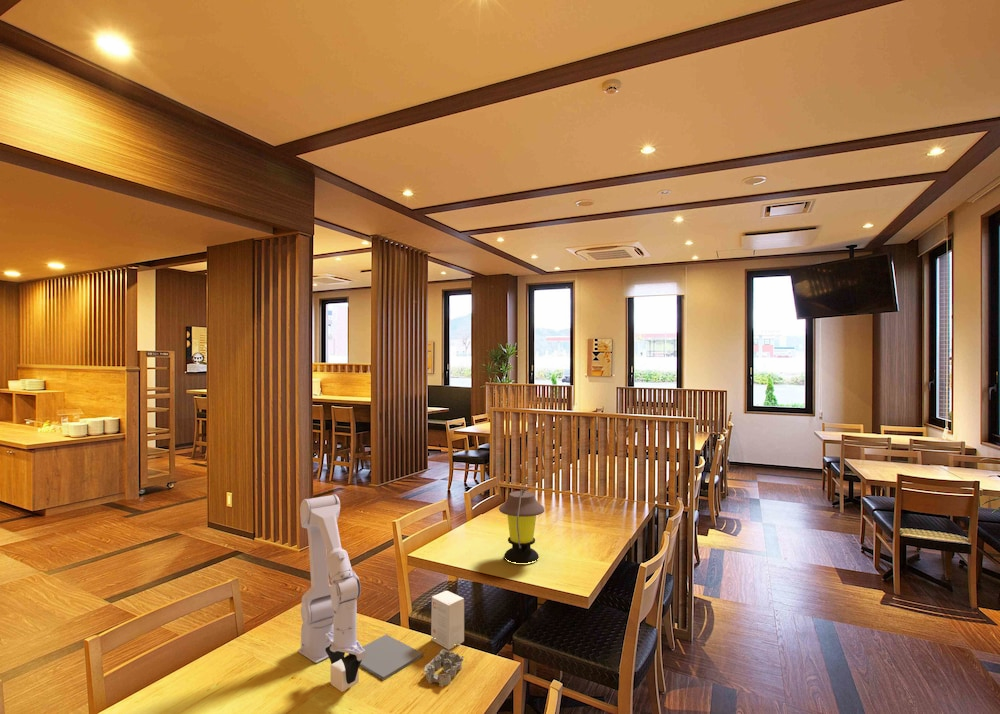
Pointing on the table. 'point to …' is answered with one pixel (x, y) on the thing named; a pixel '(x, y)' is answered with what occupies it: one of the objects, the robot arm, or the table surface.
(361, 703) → the table surface
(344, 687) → the cube
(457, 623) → the small box
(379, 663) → the mat
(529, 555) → the lantern
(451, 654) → the egg carton
